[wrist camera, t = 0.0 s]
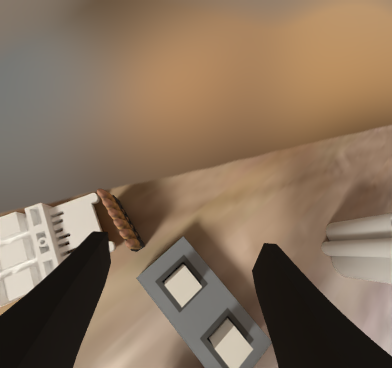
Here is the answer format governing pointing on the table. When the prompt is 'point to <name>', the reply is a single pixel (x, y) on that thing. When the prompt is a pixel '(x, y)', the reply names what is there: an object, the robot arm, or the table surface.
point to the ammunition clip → (121, 220)
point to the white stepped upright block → (361, 247)
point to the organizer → (41, 242)
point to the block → (201, 306)
